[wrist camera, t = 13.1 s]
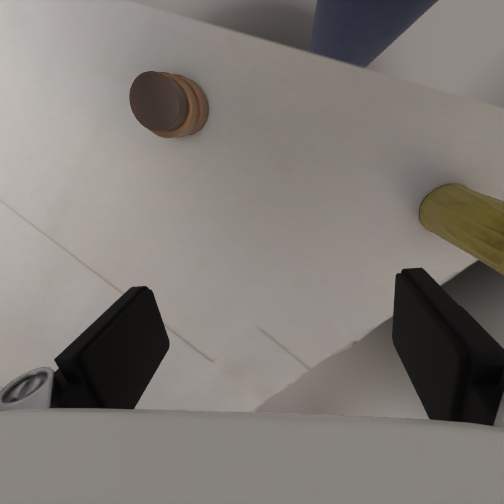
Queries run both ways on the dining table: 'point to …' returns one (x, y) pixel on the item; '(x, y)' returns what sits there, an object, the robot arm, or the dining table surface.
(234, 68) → the dining table surface
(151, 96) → the walnut chip
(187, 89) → the pile chip top
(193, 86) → the pile chip bottom
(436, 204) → the vase
